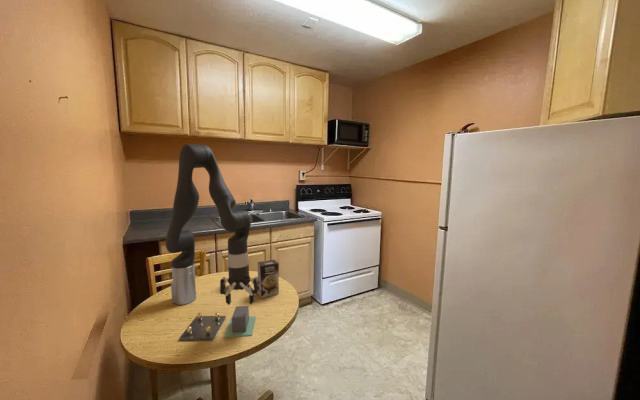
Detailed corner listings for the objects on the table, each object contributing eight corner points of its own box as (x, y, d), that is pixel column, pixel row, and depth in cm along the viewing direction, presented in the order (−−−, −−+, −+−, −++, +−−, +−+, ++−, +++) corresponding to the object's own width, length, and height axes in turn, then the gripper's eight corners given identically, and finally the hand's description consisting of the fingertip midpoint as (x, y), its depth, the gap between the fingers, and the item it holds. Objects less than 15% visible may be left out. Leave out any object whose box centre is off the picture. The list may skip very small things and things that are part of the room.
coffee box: (261, 298, 126) (260, 266, 124) (257, 292, 131) (256, 261, 129) (279, 294, 130) (278, 263, 128) (275, 288, 136) (274, 258, 133)
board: (224, 338, 97) (223, 321, 96) (231, 319, 109) (230, 304, 108) (252, 336, 98) (251, 319, 98) (255, 318, 110) (255, 302, 109)
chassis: (179, 340, 95) (178, 331, 95) (196, 318, 109) (196, 310, 109) (212, 340, 96) (212, 331, 95) (225, 318, 110) (225, 310, 109)
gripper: (216, 267, 96) (218, 309, 98) (254, 266, 97) (256, 308, 99) (223, 260, 104) (225, 299, 106) (259, 259, 104) (260, 298, 106)
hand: (240, 303), depth 102 cm, fingers open, 8 cm apart
